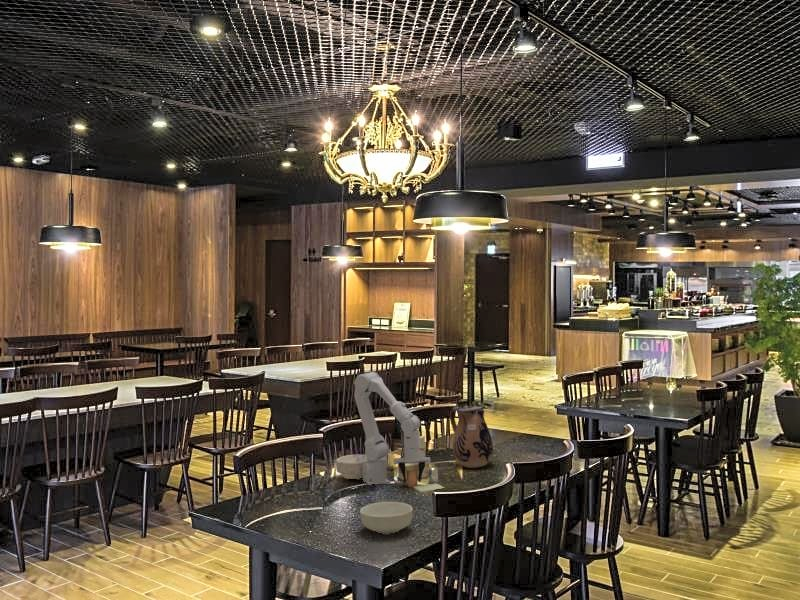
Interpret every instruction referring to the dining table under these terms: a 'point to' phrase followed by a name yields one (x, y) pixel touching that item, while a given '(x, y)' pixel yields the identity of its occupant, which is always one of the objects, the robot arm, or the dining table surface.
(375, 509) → the cereal bowl
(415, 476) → the terracotta cap
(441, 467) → the dining table surface
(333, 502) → the dining table surface
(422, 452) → the ink cartridge box
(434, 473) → the grey shiny short cylinder
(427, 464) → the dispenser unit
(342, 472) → the paper bowls
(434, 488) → the mat
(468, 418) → the ceramic pitcher
